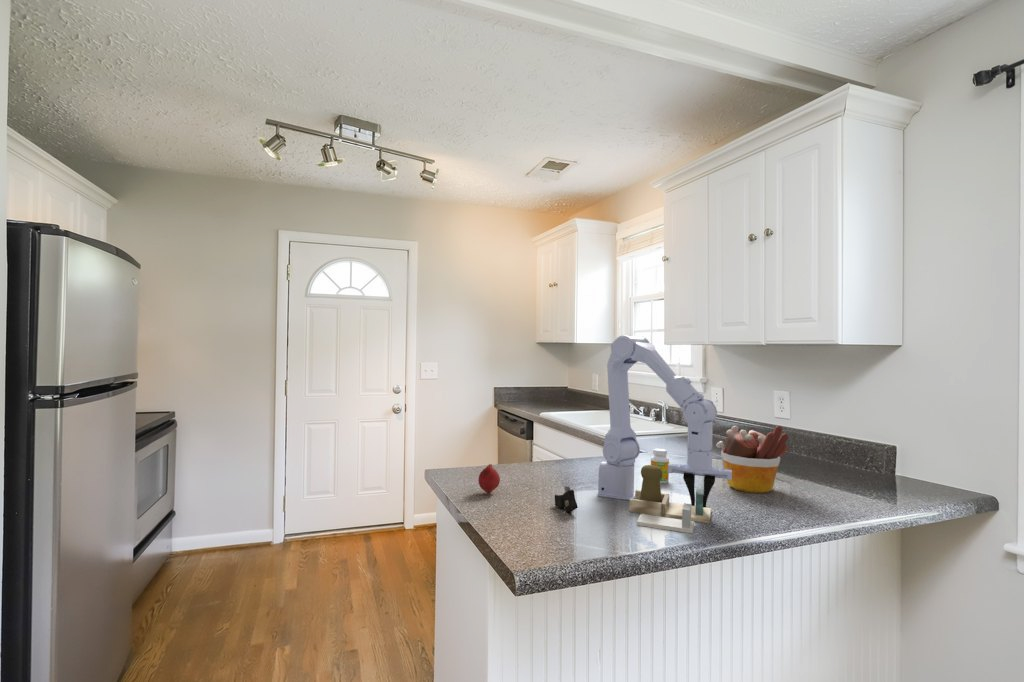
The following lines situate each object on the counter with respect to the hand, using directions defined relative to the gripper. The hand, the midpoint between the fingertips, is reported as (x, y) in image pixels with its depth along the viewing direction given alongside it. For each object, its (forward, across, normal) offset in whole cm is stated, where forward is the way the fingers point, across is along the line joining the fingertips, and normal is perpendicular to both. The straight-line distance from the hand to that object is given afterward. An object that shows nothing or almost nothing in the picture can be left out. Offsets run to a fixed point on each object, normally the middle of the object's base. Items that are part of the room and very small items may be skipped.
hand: (698, 505), depth 123 cm
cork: (+3, -11, 0) cm, 12 cm away
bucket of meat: (+3, +13, +35) cm, 38 cm away
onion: (+3, -54, -6) cm, 54 cm away
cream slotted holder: (+2, -6, 0) cm, 7 cm away
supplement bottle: (+3, -13, +31) cm, 34 cm away
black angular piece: (+3, -31, -11) cm, 33 cm away
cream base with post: (+2, -7, -11) cm, 13 cm away
